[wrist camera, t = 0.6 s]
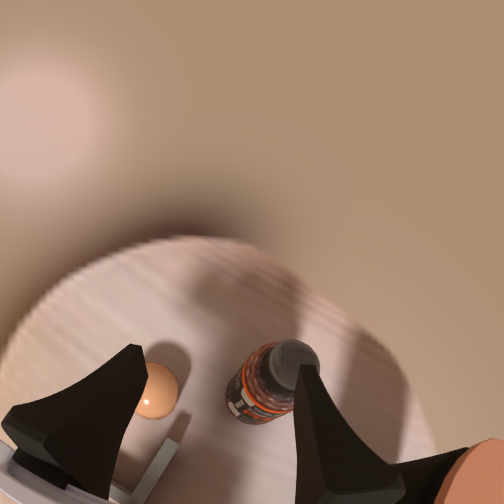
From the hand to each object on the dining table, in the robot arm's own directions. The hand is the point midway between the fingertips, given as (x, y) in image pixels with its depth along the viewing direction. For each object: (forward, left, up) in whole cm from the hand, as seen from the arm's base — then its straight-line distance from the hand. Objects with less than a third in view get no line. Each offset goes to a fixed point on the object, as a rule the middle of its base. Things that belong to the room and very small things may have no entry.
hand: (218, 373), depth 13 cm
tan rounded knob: (0, +5, -17) cm, 18 cm away
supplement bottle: (+5, -4, -17) cm, 19 cm away
